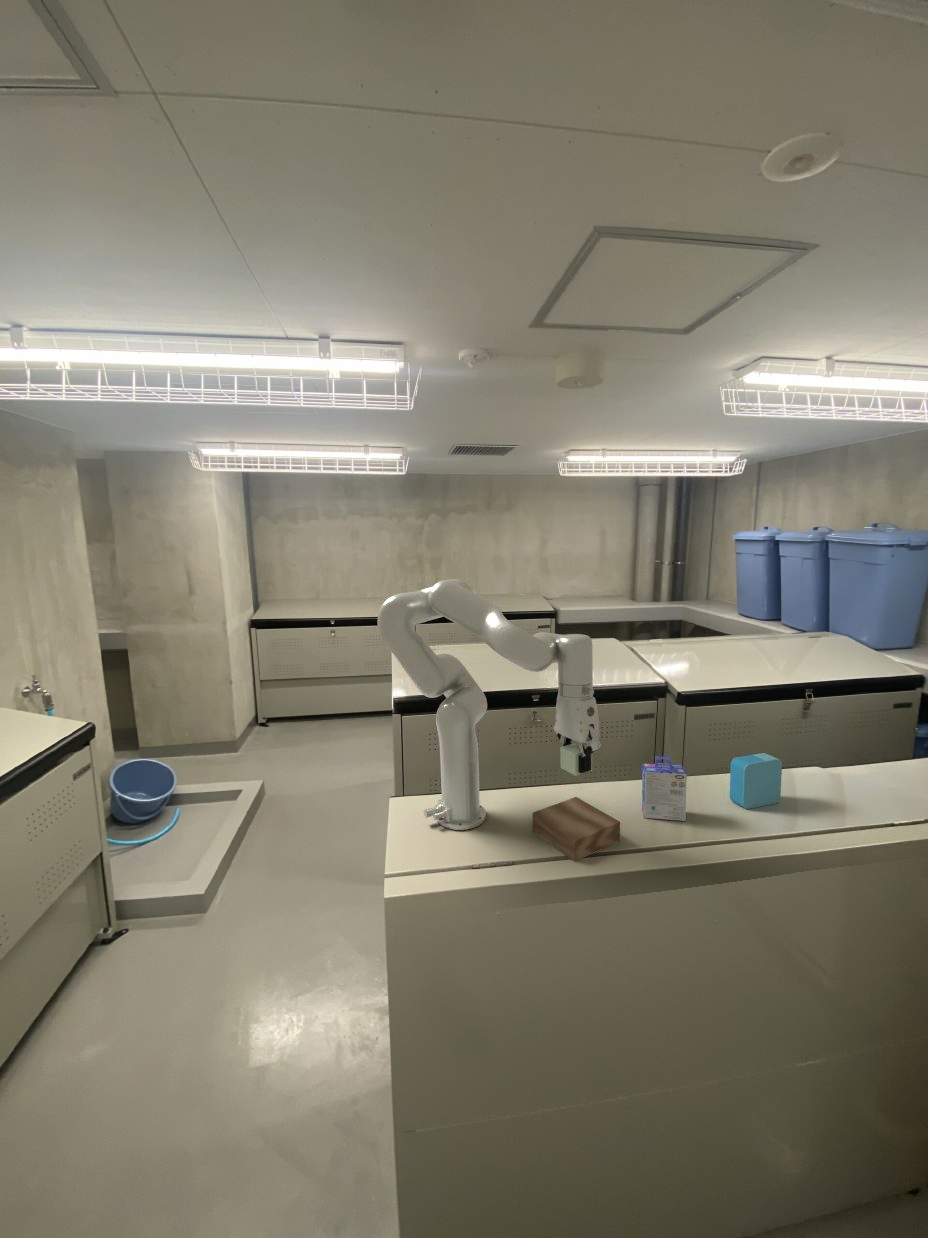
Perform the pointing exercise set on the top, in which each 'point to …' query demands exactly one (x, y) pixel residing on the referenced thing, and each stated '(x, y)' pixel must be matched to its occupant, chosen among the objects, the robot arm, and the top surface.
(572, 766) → the sage cube
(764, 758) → the blue rounded block
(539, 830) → the walnut block
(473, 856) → the top surface
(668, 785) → the ink cartridge box
